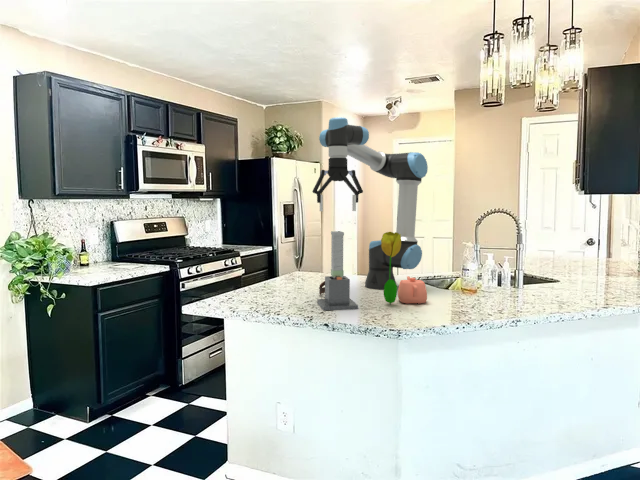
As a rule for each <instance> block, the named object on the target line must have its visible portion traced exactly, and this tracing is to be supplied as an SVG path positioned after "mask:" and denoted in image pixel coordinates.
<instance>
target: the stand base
mask: <svg viewBox="0 0 640 480" xmlns="http://www.w3.org/2000/svg"><path fill="white" fill-rule="evenodd" d="M324 281H325V285H324V287H325V293H324V298H317V299H316V303H317V304H318V306H319V307H320V308H321V309H322V311H341V310H342V311H343V310H358V309H359V305H358V304H357V303H356V302H355V301H354V300H353V299H351V298H350V288H351V287H350V285H351V283H350V282H351V280H350V278H348V277H347V276H345V275H344V276H343V279H342V277H336V279H331V275H330V276H324Z"/></svg>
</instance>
